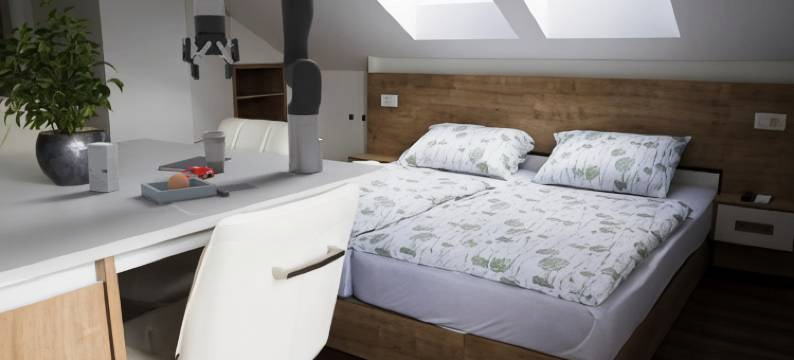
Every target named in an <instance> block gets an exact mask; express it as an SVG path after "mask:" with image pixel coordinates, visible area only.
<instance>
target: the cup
mask: <svg viewBox="0 0 794 360" xmlns="http://www.w3.org/2000/svg"><path fill="white" fill-rule="evenodd" d="M225 133H226V132H225V131H223V130H208V131H204V132H203V135H201V138H203V147H204V155H205V156H204V157H206V161H207V168H212V169H213V171H214V175H215V174H222V173H225V164H224V161H225V158H226V137H228V136H227V133H226V134H225Z"/></svg>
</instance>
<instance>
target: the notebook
mask: <svg viewBox="0 0 794 360" xmlns="http://www.w3.org/2000/svg"><path fill="white" fill-rule="evenodd" d="M232 160H233V159H232V157H225V161H224V165H225V164H228V163H231V162H232ZM196 166H200V167H207V161H206V156H201V155H200V156H198V155H197V156H195V157H191V158H187V159H182V160H178V161H175V162H172V163H168V164H163V165H160V166H159V167H158V169H159V171H173V172H174V171H175V172H182V171H185V170H186V169H188V168H190V167H196Z"/></svg>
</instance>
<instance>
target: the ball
mask: <svg viewBox="0 0 794 360" xmlns="http://www.w3.org/2000/svg"><path fill="white" fill-rule="evenodd" d="M167 180H168V187H169V189H170V190H174V189H182V188H189V180H188V178H187V177H186V176H185V175H183V174H181V173H175V174H173V175H172V176H170V177H169V179H167Z"/></svg>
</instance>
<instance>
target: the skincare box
mask: <svg viewBox="0 0 794 360" xmlns="http://www.w3.org/2000/svg"><path fill="white" fill-rule="evenodd" d="M86 147H87V164H88V166H87V167H88V182H89V183H88V185H89V191H90V192H100V193H111V192H116V191H119V190H120V179H119V178H120V177H119V173H120V171H119V153H118V152H119V151H118V150H119V149H118V148H119V147H118V143H114V142H100V141H99V142H98V141H97V142H92V143H87V146H86Z"/></svg>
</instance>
